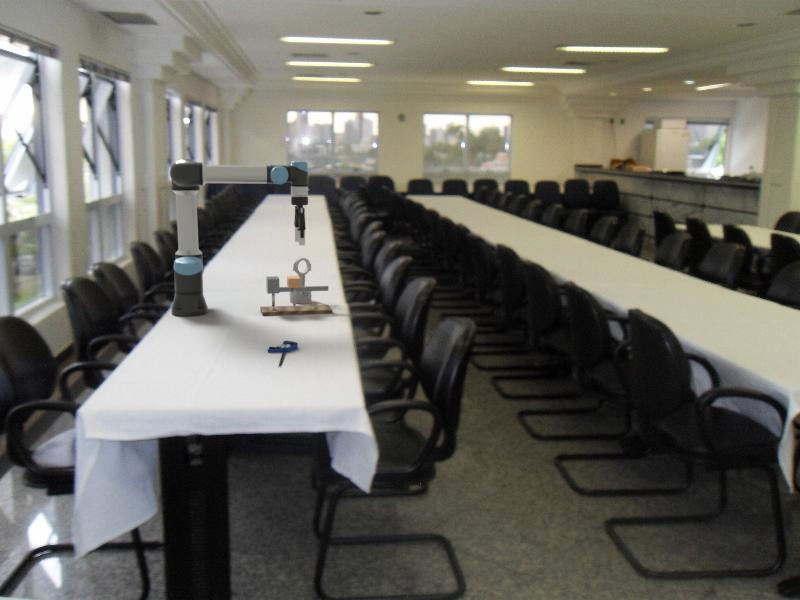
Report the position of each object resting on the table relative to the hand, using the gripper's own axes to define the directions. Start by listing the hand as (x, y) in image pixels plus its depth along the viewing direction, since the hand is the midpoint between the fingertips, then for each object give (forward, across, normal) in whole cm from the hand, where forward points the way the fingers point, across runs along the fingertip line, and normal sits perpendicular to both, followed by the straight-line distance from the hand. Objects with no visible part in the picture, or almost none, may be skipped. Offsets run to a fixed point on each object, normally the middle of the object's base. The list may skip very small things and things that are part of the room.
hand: (299, 243), depth 360 cm
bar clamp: (+28, -93, +19) cm, 99 cm away
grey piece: (+26, -17, +3) cm, 32 cm away
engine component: (+28, +6, -1) cm, 29 cm away
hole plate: (+28, -17, +4) cm, 33 cm away
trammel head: (+26, -17, +5) cm, 31 cm away
